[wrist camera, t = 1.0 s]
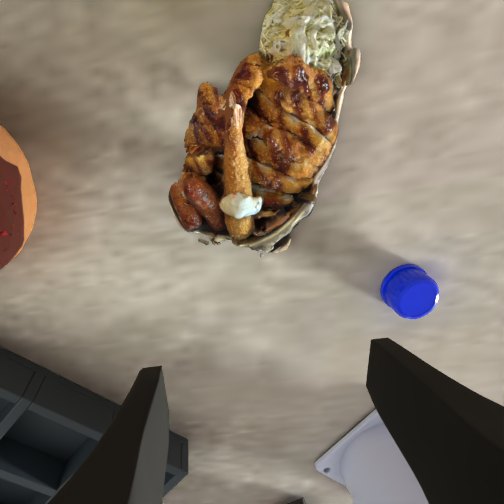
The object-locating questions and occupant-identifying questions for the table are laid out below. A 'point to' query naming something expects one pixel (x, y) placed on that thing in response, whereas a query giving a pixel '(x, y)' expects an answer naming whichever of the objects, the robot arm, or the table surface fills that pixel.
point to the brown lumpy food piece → (268, 129)
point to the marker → (298, 501)
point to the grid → (55, 432)
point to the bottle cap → (409, 291)
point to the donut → (14, 198)
